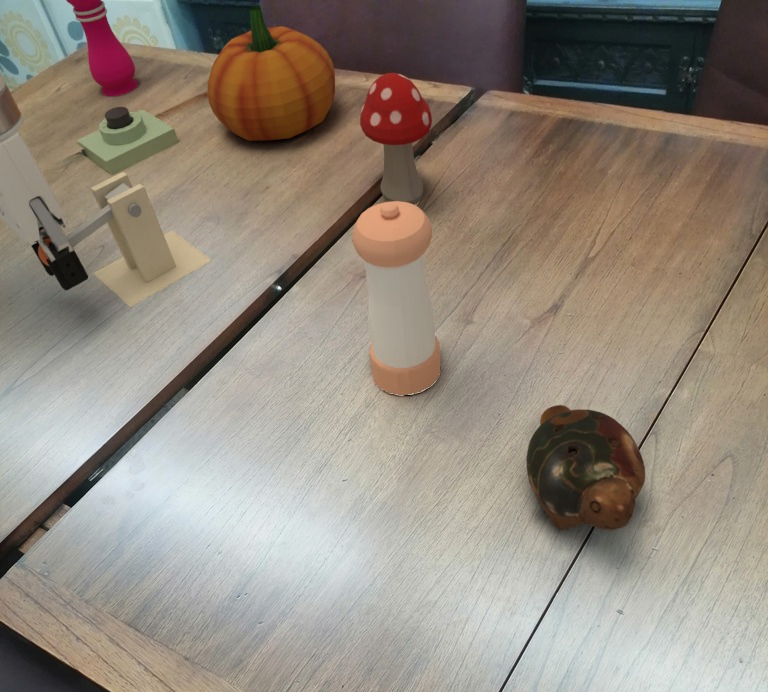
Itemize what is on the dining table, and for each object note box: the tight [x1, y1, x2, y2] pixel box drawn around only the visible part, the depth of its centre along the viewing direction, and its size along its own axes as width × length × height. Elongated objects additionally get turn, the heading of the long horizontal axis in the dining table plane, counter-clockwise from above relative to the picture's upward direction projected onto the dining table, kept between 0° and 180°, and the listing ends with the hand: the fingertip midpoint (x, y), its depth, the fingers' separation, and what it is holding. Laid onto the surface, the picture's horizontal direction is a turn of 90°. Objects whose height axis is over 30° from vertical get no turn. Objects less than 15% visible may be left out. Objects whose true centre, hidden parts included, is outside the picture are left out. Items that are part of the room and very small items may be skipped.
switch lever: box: [38, 183, 130, 266], centre depth 80 cm, size 13×3×3 cm, turn 131°
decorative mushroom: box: [359, 72, 433, 205], centre depth 87 cm, size 10×9×15 cm
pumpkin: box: [206, 5, 336, 142], centre depth 102 cm, size 19×19×15 cm
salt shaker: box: [351, 201, 442, 395], centre depth 66 cm, size 7×7×19 cm
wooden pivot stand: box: [90, 171, 213, 308], centre depth 84 cm, size 12×10×12 cm
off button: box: [104, 106, 132, 129], centre depth 105 cm, size 4×4×2 cm
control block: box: [76, 108, 179, 176], centre depth 107 cm, size 12×10×4 cm
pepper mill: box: [65, 0, 139, 97], centre depth 111 cm, size 7×7×20 cm
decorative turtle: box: [525, 404, 646, 531], centre depth 60 cm, size 10×15×8 cm, turn 17°
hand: (68, 275), depth 81 cm, fingers closed on switch lever, 3 cm apart
